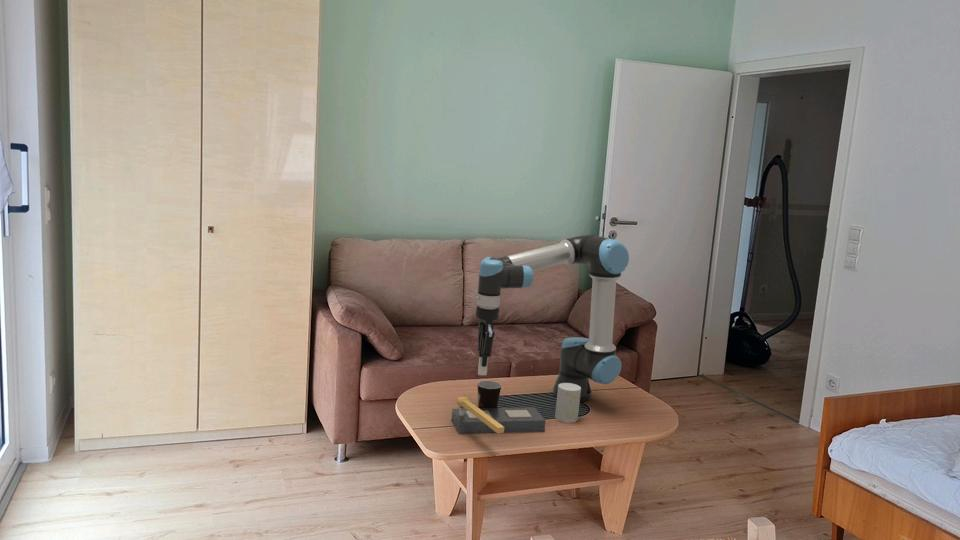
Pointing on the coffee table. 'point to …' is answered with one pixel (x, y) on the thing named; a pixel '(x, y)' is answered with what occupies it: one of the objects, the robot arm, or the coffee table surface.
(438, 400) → the coffee table surface
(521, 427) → the chassis
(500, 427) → the bar
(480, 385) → the coffee mug
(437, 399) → the coffee table surface
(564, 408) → the gray cylinder
